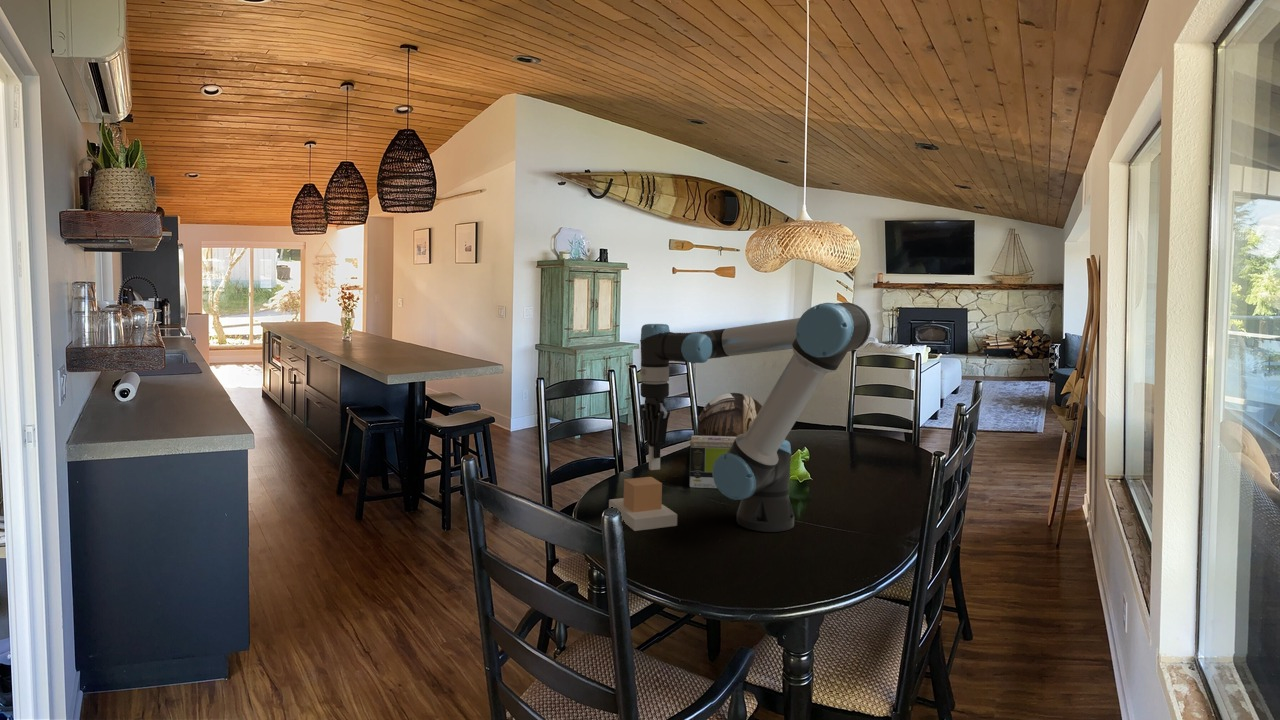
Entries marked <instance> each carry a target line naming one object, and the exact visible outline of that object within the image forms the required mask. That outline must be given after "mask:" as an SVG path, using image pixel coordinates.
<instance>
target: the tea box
mask: <svg viewBox="0 0 1280 720" xmlns="http://www.w3.org/2000/svg"><path fill="white" fill-rule="evenodd" d="M690 437H691V438H690V442H689V444H690V445H689V447H690V448H689V487H690V488H699V489H718V488H717V487H716V485H715V482H714V478H713V475H712V470H713V465H714V463H715V461H716V460H717V458H719V457H720V456H721V455H722V454H725V453H727V452H728V450H729V449H730V447H731V445H732V444H733V442H734V440H735V439H736V437H735V436H698V435H691V436H690Z"/></svg>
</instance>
